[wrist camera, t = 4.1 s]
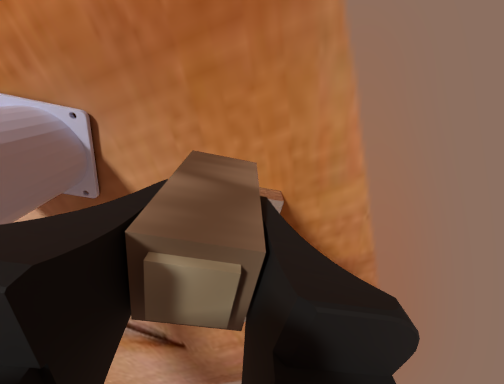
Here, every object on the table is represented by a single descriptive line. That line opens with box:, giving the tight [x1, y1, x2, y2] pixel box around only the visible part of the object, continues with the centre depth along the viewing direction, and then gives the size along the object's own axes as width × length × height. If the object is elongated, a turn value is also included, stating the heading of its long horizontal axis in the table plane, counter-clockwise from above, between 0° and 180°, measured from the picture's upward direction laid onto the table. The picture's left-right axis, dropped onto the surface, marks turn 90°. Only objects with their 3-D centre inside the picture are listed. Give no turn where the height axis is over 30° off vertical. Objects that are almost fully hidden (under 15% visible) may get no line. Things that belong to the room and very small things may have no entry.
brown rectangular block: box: [125, 151, 266, 331], centre depth 9 cm, size 4×4×7 cm
